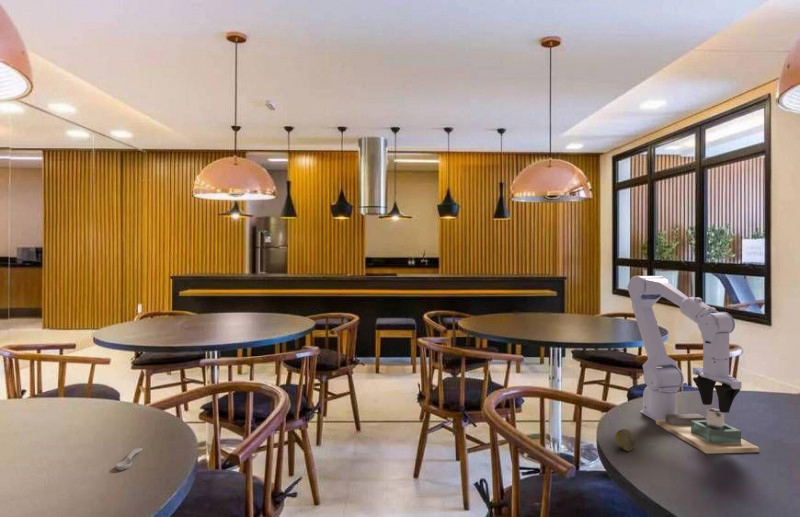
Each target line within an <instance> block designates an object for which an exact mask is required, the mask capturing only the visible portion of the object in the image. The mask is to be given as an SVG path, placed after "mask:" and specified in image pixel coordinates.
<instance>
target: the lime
mask: <svg viewBox="0 0 800 517" xmlns="http://www.w3.org/2000/svg"><path fill="white" fill-rule="evenodd" d="M614 440H615V443H616V444H617V446H618V447H619V448H621V449H622V450H623V451H626V452H630V451H632V450H633V449H634V447H635V438H634V435H633V433H632V431H630V430H628V429H626V428H625V429H624V428H622V429H619V430H618V431H617V432H616V433H615V437H614Z"/></svg>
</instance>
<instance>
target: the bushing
mask: <svg viewBox="0 0 800 517" xmlns="http://www.w3.org/2000/svg"><path fill="white" fill-rule="evenodd" d="M705 417H706V426H707V427H709V428H711V429H713V430H724V423H725V413H722V412H720V411H719V408H713V407H707V408H705Z"/></svg>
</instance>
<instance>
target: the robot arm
mask: <svg viewBox="0 0 800 517" xmlns="http://www.w3.org/2000/svg"><path fill="white" fill-rule="evenodd" d="M626 288H627V291H628V294H629V297H630V300H631V307H632V311H633V313H634V316H635V317H634V318H635V320H636V325H637V327H638V331H639V333H640V336H641V340H642V344H643V346H644V350H645V353H646V356H647V360H646V361H645V362H644V363H643V364H642V369H643V370H642V371H643V380H644V383H645V385H646V387H645V388H644V390H643V394H642V410H640V413H641V414H643V415H644V416H646V417H648V418H650V419H652V420H653V421H655V422H656V420H664V419H666V415H671V414H678V391H680V387H682V386H683V385H684V380H685V378H684V373H683V372H682V370H681V369H680V368H679V366H678V363H677V361H676V360H674V359H673V358H671V357H670V356H669V355H668V353H667V349H666V348H665V344H664V341H663V338H662V333H661V332H660V331H661V330H660V328H659V326H658V325H659V324H658V321H657V319H656V316H655V312H654V309H653V306H654V305H655V304H656V303H657V302H658V301H659V300H660V299H661V297H663V298H665V299H667V301H670V302H671V303H673V304H675V305H677V306H678V307H679V311H680V313H681V314H682V315H684V316H686V317H687V318H689V320H691V321H693V322H694V323H695V324H697V327H698V329H699V331H700V333H701V338H702V344H703V345H702V367H701V366H699V367H698V366H696V367H695V366H694V367H692V375H695V376H696V377H693V378H692V381H693V382H694V383H695V385H696V388H697V390H698V392H699V395H700V396H699V397H700V399H701V403H702V405H705V406H711V405H712V404H713V399H714V398H713V396H714V389H715V392H716V395H717V401H718V402H717V403H718V409H719V411H720V412H722V413H724V414H726V413H730V410H731V407H732V404H733V402H734V400H735V398H736V396H737V394H738V393H739V392H740V391H741V390H742V381H741V380H739V379H737V378H735V377H733V376H732V375H730V334H731V333H732V332H734V330H735V328H736V322H735V319H734V317H733V316H732V315H731V314H729V312H726V311H718V310H717V309H716V308H715V307H713V306H712V307H711V306H710V305H708V304H707V303H705V302H703V299H702V298H701V297H699V296H698V297H695V296H691V297H688V296H687V295H686V294H684V293H683V292H682V291H680V290H679V288H678V289H677V287H675V286H674V285H673V284H671V283H670V281H669V279H667V278H665V277H664V276H662V275H658V274H657V275H634V276H632V277H631V278H630V280H629V282H628V284H627V286H626ZM717 383H719V384H717Z"/></svg>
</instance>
